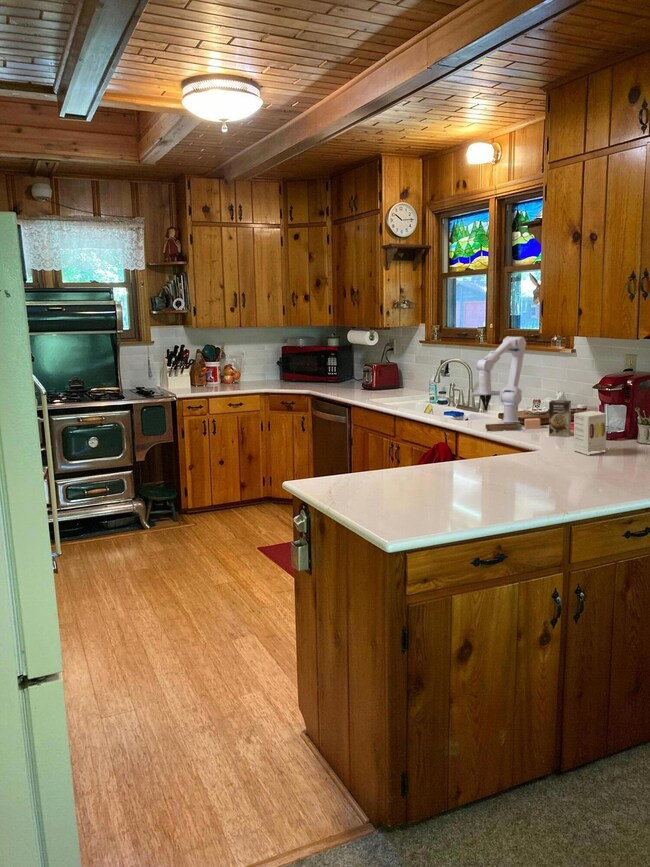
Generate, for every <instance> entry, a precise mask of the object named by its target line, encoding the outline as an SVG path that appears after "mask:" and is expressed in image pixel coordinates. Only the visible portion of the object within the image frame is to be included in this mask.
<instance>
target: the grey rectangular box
mask: <svg viewBox="0 0 650 867" xmlns="http://www.w3.org/2000/svg"><path fill="white" fill-rule="evenodd" d="M571 407H572V400H557V399H556V400H553V399H552V400H550V401H549V402H548V436H549V437H567V438H568V437H570V435H571V433H572V432H571V426H572V425H571V424H572V422H571V420H572V419H571V418H572V417H571V416H572V415H571V413H572V411H571V410H572V408H571Z"/></svg>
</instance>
